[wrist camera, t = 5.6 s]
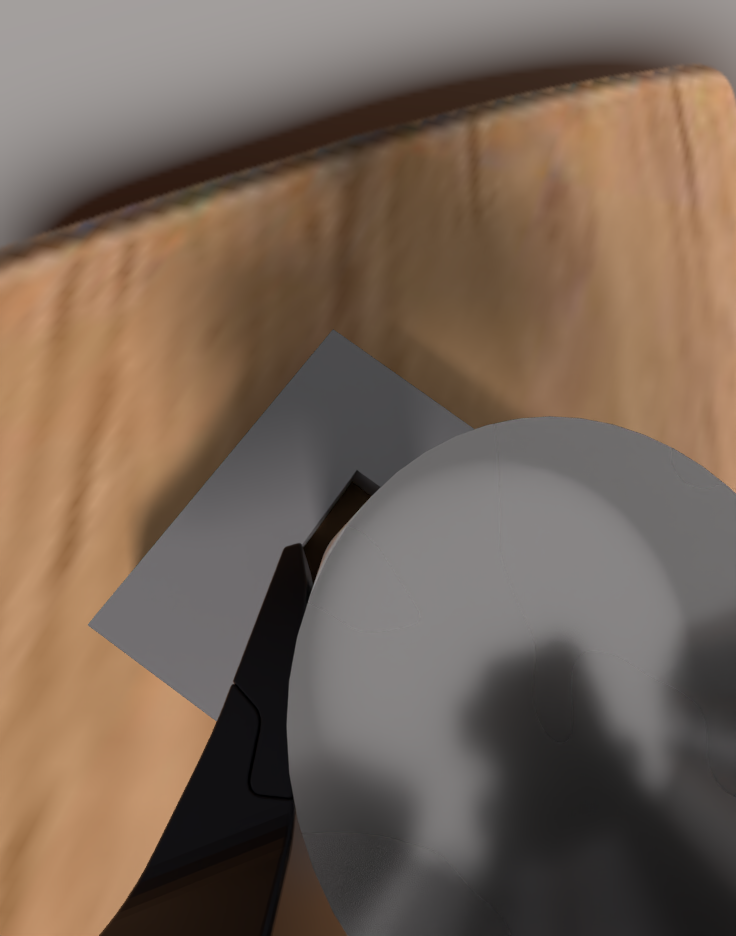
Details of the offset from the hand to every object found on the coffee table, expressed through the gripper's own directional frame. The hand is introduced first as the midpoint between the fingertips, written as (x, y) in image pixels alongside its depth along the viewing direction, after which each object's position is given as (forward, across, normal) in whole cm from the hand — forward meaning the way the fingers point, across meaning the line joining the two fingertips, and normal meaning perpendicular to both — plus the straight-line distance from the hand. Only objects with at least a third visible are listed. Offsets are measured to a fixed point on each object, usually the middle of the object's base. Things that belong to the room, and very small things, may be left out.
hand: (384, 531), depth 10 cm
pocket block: (+5, 0, +7) cm, 8 cm away
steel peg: (+4, 0, +6) cm, 7 cm away
